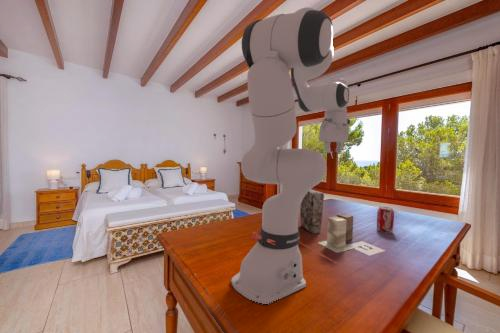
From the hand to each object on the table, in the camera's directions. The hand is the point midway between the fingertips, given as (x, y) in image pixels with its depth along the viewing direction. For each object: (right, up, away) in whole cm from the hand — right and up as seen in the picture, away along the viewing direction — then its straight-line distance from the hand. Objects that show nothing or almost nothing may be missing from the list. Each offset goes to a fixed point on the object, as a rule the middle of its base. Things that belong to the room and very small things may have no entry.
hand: (333, 152), depth 91 cm
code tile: (+11, -39, -6) cm, 41 cm away
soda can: (+32, -39, +15) cm, 53 cm away
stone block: (-6, -38, +16) cm, 42 cm away
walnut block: (+6, -39, +4) cm, 40 cm away
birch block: (-1, -38, -5) cm, 39 cm away
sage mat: (-1, -39, -5) cm, 39 cm away
